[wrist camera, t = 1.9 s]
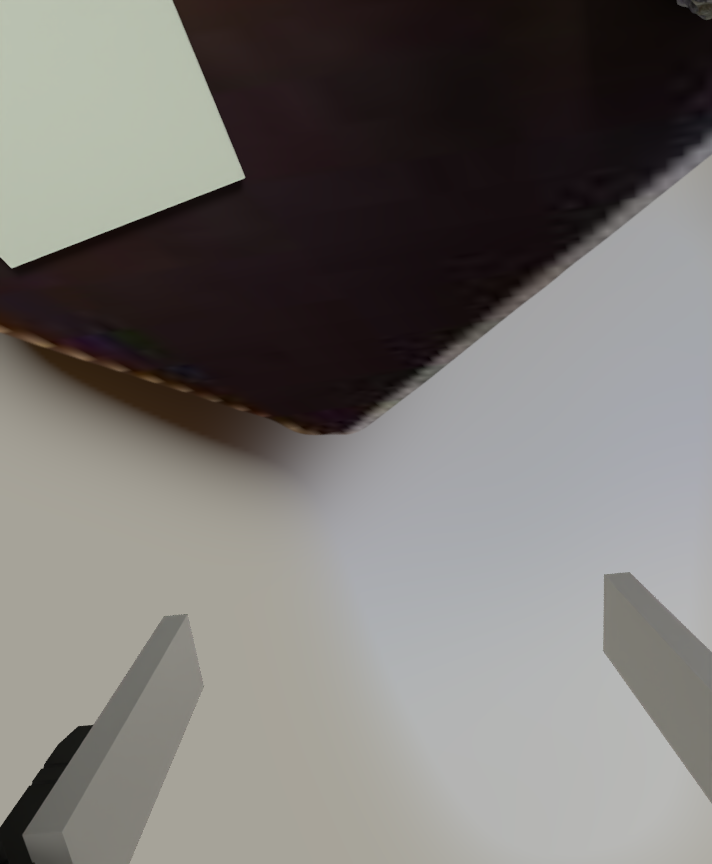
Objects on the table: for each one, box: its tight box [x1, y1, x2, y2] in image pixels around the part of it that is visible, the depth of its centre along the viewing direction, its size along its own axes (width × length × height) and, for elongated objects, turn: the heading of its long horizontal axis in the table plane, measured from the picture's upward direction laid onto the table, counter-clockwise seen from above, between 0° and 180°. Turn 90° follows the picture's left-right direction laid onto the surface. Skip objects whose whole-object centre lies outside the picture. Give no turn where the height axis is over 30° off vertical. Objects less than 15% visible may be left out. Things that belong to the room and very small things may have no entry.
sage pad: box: [0, 0, 245, 268], centre depth 24 cm, size 16×16×1 cm
